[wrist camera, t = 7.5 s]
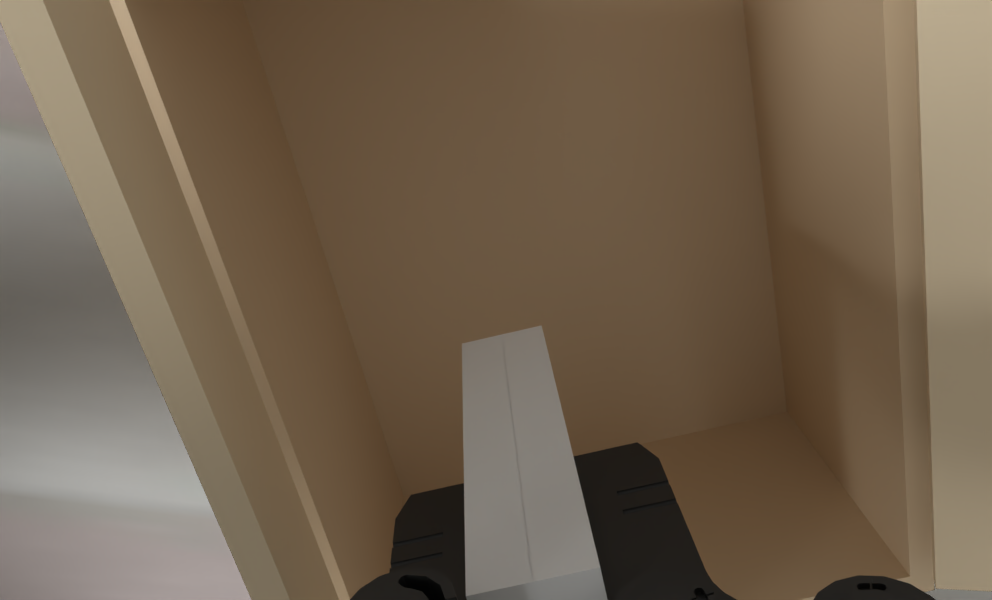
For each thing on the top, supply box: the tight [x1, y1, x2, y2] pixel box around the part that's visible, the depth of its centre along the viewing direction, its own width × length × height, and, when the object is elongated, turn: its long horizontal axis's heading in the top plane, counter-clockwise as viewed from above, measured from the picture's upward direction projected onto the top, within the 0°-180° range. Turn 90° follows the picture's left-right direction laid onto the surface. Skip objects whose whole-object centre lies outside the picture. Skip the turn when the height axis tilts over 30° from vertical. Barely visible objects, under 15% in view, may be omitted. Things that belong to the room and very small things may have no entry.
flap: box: [0, 0, 339, 600], centre depth 15 cm, size 1×17×6 cm, turn 13°
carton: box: [109, 0, 934, 600], centre depth 22 cm, size 15×21×9 cm
